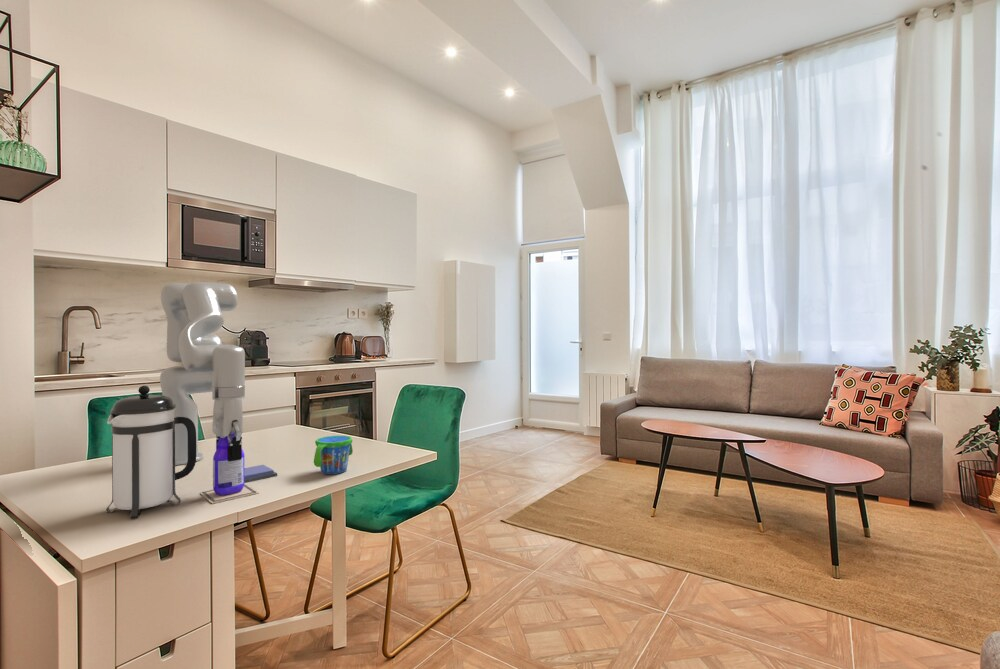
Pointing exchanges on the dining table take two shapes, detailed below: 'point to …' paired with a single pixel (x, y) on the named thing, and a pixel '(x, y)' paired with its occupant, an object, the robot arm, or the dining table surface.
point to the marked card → (216, 498)
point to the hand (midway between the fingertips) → (228, 456)
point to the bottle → (227, 470)
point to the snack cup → (333, 453)
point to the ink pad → (258, 473)
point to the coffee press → (146, 451)
